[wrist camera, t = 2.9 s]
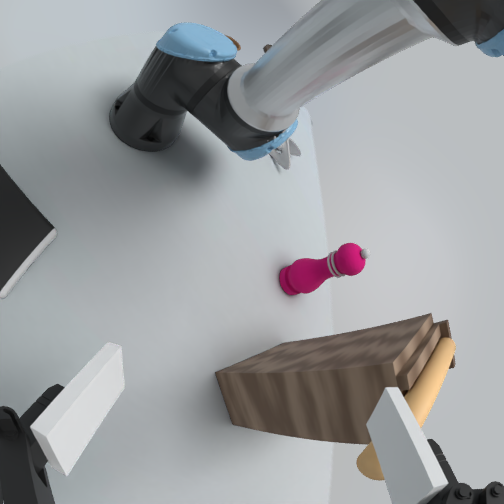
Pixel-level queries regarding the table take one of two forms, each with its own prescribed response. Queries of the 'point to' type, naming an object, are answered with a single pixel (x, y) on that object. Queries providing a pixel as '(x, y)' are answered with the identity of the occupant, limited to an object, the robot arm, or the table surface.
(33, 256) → the smartphone
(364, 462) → the pin
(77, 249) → the table surface
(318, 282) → the pepper mill
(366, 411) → the stand
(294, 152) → the sculpture
